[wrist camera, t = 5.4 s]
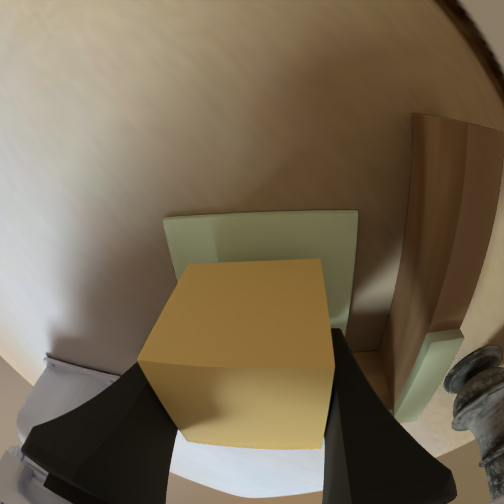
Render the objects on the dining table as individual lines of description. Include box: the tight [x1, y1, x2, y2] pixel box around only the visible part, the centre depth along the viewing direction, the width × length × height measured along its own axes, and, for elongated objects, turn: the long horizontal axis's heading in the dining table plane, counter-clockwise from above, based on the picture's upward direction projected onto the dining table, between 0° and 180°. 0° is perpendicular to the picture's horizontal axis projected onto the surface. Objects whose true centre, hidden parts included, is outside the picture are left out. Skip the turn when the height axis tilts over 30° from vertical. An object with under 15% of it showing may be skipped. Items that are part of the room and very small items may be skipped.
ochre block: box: [137, 258, 335, 449], centre depth 10 cm, size 5×5×5 cm
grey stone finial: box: [444, 345, 504, 501], centre depth 10 cm, size 6×6×12 cm
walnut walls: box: [323, 113, 504, 437], centre depth 11 cm, size 15×14×4 cm
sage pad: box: [162, 210, 358, 337], centre depth 13 cm, size 8×8×1 cm
